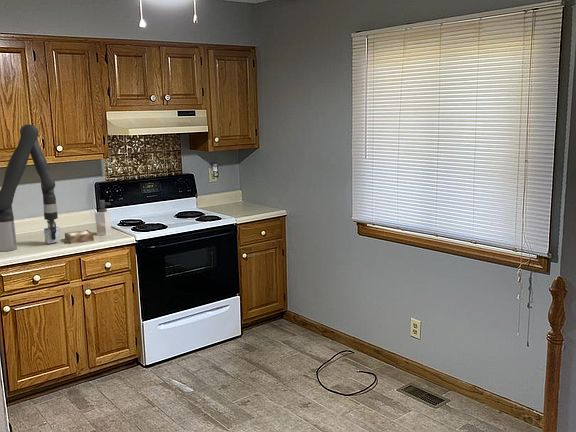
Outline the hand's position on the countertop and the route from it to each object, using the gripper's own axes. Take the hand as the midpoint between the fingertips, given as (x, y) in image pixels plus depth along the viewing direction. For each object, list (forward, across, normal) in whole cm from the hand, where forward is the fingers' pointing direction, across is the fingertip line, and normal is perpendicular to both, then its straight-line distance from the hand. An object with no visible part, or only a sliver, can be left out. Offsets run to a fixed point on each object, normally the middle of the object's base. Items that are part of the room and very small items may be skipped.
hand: (52, 238), depth 349 cm
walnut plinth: (+3, 0, +15) cm, 16 cm away
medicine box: (+2, 0, 0) cm, 2 cm away
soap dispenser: (+3, -6, +33) cm, 34 cm away
